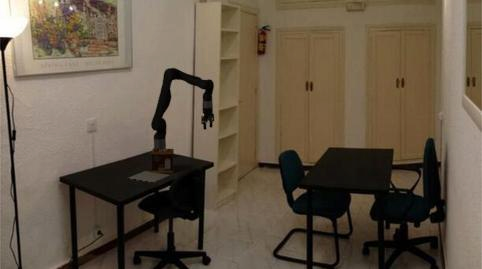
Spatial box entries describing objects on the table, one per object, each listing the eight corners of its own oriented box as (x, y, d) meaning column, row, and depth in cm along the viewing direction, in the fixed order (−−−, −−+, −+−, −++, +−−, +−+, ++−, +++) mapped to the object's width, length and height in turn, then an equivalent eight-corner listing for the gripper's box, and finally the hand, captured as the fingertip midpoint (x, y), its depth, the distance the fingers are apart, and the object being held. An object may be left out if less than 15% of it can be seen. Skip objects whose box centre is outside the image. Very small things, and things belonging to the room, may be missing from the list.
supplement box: (152, 169, 354) (152, 148, 351) (173, 169, 355) (173, 148, 352) (151, 172, 344) (151, 151, 341) (173, 172, 345) (173, 151, 342)
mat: (127, 178, 332) (127, 177, 332) (145, 171, 349) (145, 171, 349) (153, 183, 322) (153, 182, 322) (170, 175, 339) (169, 175, 339)
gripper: (208, 105, 360) (208, 126, 363) (198, 107, 348) (198, 129, 351) (216, 105, 356) (217, 127, 360) (206, 108, 344) (207, 130, 348)
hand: (208, 128), depth 355 cm, fingers open, 8 cm apart
